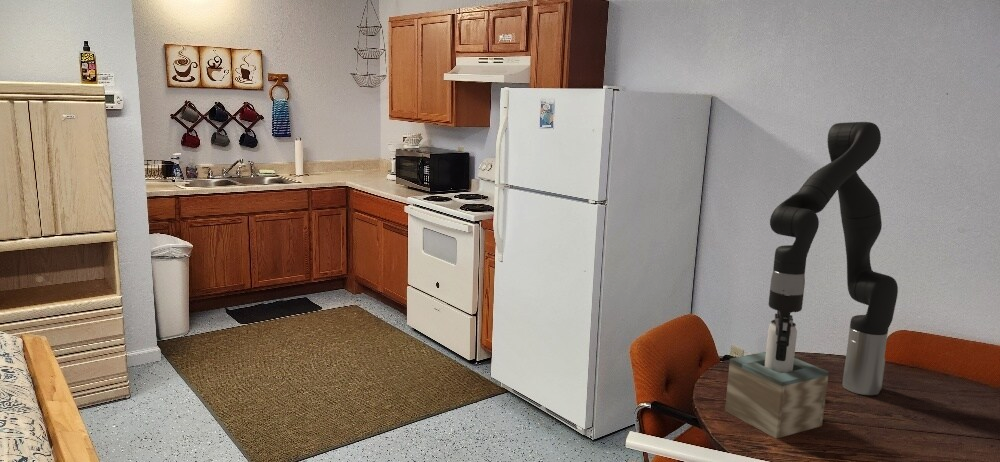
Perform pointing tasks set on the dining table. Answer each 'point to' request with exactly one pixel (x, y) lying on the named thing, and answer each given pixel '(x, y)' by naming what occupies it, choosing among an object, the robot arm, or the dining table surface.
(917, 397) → the dining table surface
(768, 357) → the can
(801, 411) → the drop box
